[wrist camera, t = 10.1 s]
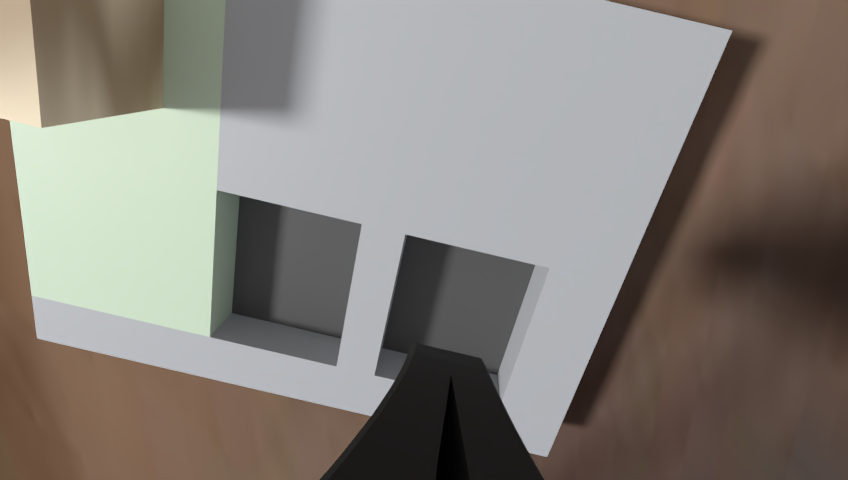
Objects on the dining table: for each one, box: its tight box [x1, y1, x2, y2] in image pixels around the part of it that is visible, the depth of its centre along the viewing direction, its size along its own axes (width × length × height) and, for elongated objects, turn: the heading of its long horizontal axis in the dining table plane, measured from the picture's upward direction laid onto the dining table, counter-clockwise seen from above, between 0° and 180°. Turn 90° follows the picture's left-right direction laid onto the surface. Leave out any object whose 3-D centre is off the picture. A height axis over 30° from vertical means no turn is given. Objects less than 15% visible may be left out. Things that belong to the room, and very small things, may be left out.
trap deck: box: [10, 0, 732, 457], centre depth 16 cm, size 16×21×2 cm
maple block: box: [0, 0, 164, 128], centre depth 12 cm, size 4×4×4 cm
